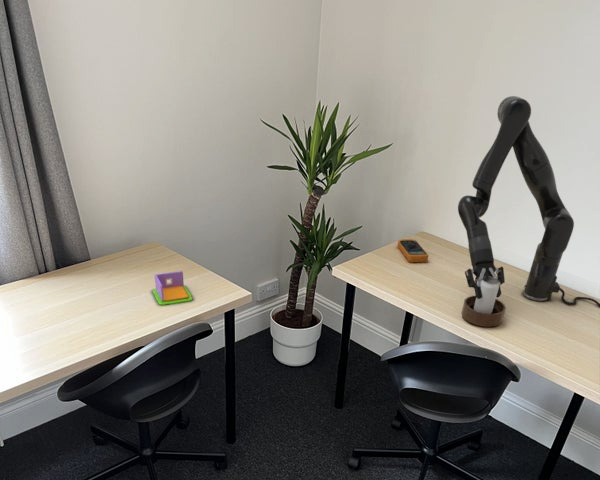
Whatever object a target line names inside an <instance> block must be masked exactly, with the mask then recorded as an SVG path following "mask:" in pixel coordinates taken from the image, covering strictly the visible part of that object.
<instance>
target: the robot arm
mask: <svg viewBox="0 0 600 480" xmlns="http://www.w3.org/2000/svg"><path fill="white" fill-rule="evenodd" d="M496 115H497V119H498V121H499V123H500V125H499V126H500V127H499V130H498V133H497V135H496V137H495V140H493V141H494V142H493V143H492V145H491V146H490V148H489V149H488V151H487V152H486V154H485V156H484V157H483V159H482V161H481V162H480V164H479V166H478V169H477V171H476V173H475V176H474V178H473V180H472V188H474V189H475V190H476V193H475V196H474V195H468V194H467V195H464V196H462V197H461V198H460V200H459V201H458V204H457V213H458V216H459V218H460V221H461V223H462V225H463V227H464V229H465V232H466V237H467V242H468V243H467V244H468V252H469V257H470V264H471V267H472V268H468V269H466V270H465V271H464V274H465V279H466V282H467V286H468V288H473V289H474V294H475V295H476V297H477V299H480V298H482V292H481V287H479V286H480V284H481V281H482V279H483V277H485V278H490V277H495V278H497V279H498V280H499V289H498V293H497V296H496V299H498V298H500V297H501V295H502V289H501V286H502V285H503V284H504V283H505V282H506V279H505V271H504V270H505V269H504V267H503V266H500V267H496V265H495V258H494V253H493V249H492V248H493V247H492V243H491V239H490V235H489V230H488V225H487V223H486V222H485V221H484V220H482V219H481V218H482V217H483V216H484V215H485V214H486V213H487V211H488V209H489V206H490V202H491V201H490V200H491V197H492V190H493V187H494V185H495V183H496V181H497V179H498V176H499V174H500V172H501V169H502V167H503V165H504V163H505V161H506V159H507V157H508V155H509V153H510V151H511V150H513V153H514V155H515V158H516V162H517V164H518V167H519V170H520V173H521V175H522V177H523V180H524V182H525V184H526V186H527V188H528V190H529V192H530V194H531V195H532V196H533V198H534V200H535V201H536V203H537V207H538V209H539V212H540V217H541V220H542V226H543V227H544V231H543V236H542V239H541V241H540V242H539V243H538V244H537V246H536V250H535V253H534V257H533V259H532V263H531V266H530V270H529V273H528V277H527V280H526V284H525V285H524V286H523V292H522V294H523V296H524V297H525V298H527V299H528V300H531V301H536V302H546V301H550V300H551V298H552V294H553V293H555V294H556V293H559V292H561V297H560V298H561V301H562V303H564V304H566V305H571V306H573V305H574V306H575V305H576V304H577V300H586V301H591V302H592V303H594V304H596V305H597V306H598V307H599V308H600V302H599V301H598V300H596V299H594V298H591V297H587V296H576V297H574V298H573V302H572V301H568V300H566V299H565V298H564V297H565V294H566V292H565V290H563V289H562V288H561V286H560V284H559V282H558V281H557V279H558V276H557V272H558V269H559V266H560V264H561V261H562V257H563V255H564V252H566V250H567V247H568V246H569V242H570V241H571V238H572V234H573V231H574V228H575V227H574V226H575V221H574V219H573V217H572V215H571V214H570V212H569V210H568V208H566V206H565V204H564V203H563V200H562V199H561V196H560V195H559V191H558V189H557V183H556V177H555V173H554V170H553V167H552V164H551V161H550V159H549V157H548V155H547V153H546V151H545V149H544V148H543V146H542V144H541V143H540V141H539V139H538V138H537V137H536V135H535V134H534V132H533V130H532V127H531V124H530V121H529V120H530V118H531V116H532V107H531V104H530V103H529V101H528V100H527V99H524V98H522V97H520V96H515V95H512V96H506V97H505V98H503V99H502V100H501V102H500V103H499V105H498V107H497V113H496ZM474 276H475V277H474ZM488 276H490V277H488ZM475 295H474V296H475Z"/></svg>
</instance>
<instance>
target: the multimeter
mask: <svg viewBox="0 0 600 480" xmlns="http://www.w3.org/2000/svg"><path fill="white" fill-rule="evenodd" d="M397 248H398V249H399V251H401V253H402V254H403V255H404V256H405V258H406V260H407V261H408V262H409V263H426V262H428V259H429V254H428V253H427V252H426V251H425V249H424V248H423V247H422V246H421V244H420V243H419V242H418V240H416V239H412V238H402V239H401V238H400V239H399V240H397Z"/></svg>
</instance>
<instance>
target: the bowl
mask: <svg viewBox="0 0 600 480" xmlns="http://www.w3.org/2000/svg"><path fill="white" fill-rule="evenodd" d="M475 301H476V295H469V296H468V297H466V298H464V301H463V305H462V309H461V316H462V318H463V319H464V320H465V321H467V322H468V323H471V324H473V325H474V326H475V325H476V326H479V327H489V328H490V327H495V326H499V325H501V324H502V322H503V319H504V316H505V314H506V313H505V312H506V309H507V307H506V304H504V302H502V301H501V300H499V299H498V298H496V300H495V303H494V307H493V310H492V313H490V314H486V313H481V312H478V311H475V310H474V305H475Z"/></svg>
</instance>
